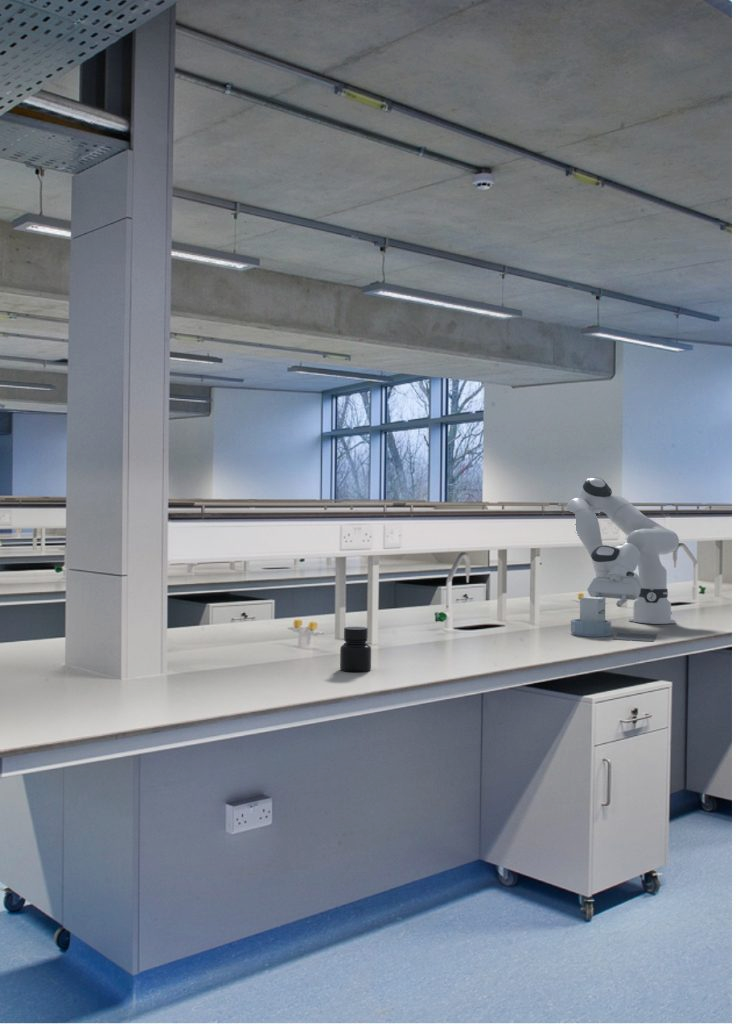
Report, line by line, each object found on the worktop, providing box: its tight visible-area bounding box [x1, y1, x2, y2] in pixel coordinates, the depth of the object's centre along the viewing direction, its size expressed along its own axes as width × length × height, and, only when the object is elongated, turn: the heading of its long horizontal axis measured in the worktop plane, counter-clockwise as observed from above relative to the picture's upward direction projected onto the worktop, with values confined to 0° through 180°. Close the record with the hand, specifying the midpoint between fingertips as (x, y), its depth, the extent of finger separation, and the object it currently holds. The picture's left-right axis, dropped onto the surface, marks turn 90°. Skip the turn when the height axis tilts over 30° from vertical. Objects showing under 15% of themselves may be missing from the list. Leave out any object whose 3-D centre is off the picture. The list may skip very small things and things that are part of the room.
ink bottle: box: [339, 626, 372, 673], centre depth 267 cm, size 10×9×12 cm
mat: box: [612, 631, 657, 643], centre depth 343 cm, size 20×14×1 cm
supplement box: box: [579, 596, 606, 623], centre depth 350 cm, size 7×7×13 cm
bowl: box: [570, 618, 612, 638], centre depth 349 cm, size 14×14×5 cm
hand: (607, 604), depth 358 cm, fingers open, 8 cm apart
